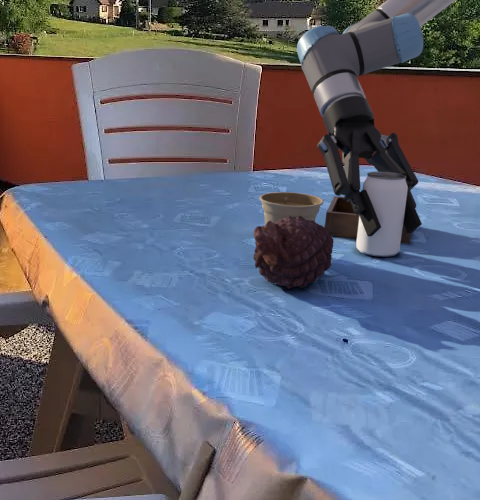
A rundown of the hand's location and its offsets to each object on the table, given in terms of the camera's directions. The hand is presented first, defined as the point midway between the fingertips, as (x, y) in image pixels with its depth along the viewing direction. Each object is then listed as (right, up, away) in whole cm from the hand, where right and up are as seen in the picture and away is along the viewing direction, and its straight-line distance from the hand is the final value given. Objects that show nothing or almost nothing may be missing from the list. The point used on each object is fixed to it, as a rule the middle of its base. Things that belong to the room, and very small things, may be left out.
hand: (394, 230), depth 106 cm
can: (-1, -3, +4) cm, 6 cm away
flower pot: (-15, -4, +3) cm, 16 cm away
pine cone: (-17, -7, -9) cm, 21 cm away
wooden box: (+2, +1, +18) cm, 18 cm away
